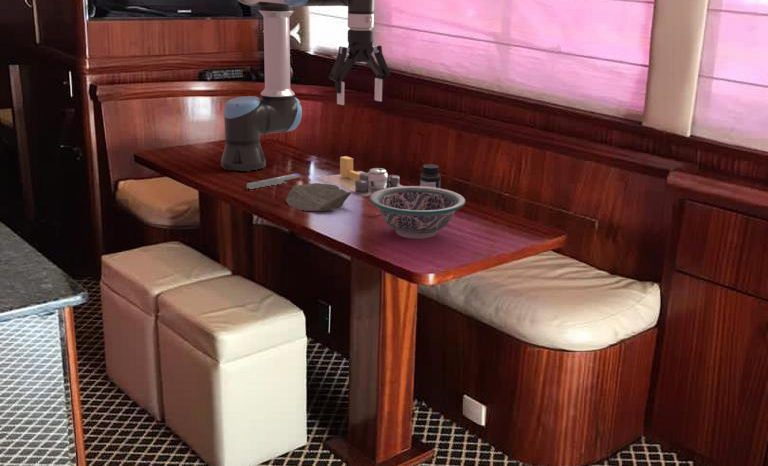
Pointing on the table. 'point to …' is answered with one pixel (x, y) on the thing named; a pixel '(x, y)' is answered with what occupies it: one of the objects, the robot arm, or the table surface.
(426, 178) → the pill bottle
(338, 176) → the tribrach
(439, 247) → the table surface
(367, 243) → the table surface
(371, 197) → the bowl
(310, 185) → the stone
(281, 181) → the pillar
